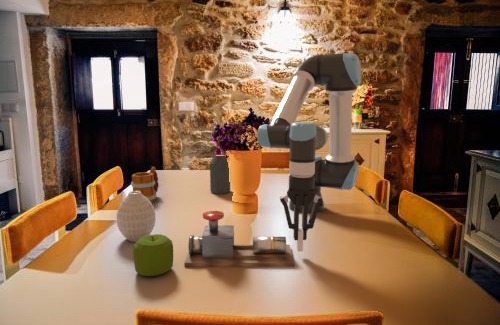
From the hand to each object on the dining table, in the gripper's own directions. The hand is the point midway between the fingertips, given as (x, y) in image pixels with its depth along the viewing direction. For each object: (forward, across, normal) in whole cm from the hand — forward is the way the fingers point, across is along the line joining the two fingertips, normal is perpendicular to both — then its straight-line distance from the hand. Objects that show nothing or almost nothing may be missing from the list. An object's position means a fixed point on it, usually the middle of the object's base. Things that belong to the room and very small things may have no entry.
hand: (299, 249), depth 113 cm
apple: (+3, +42, +9) cm, 44 cm away
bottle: (+3, +30, -76) cm, 82 cm away
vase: (+3, +54, -15) cm, 56 cm away
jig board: (+2, +18, 0) cm, 19 cm away
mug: (+3, +64, -62) cm, 89 cm away
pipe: (+1, +9, 0) cm, 9 cm away
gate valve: (+1, +27, 0) cm, 27 cm away
